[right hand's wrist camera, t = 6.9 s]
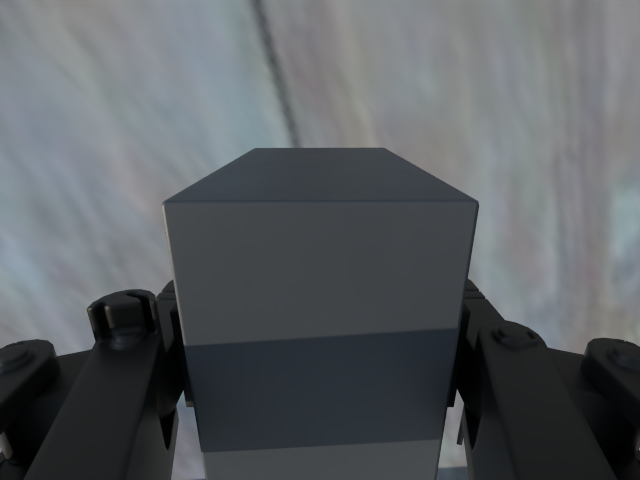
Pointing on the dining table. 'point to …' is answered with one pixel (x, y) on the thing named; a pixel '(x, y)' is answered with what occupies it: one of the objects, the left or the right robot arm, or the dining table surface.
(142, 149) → the dining table surface
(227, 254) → the bar
